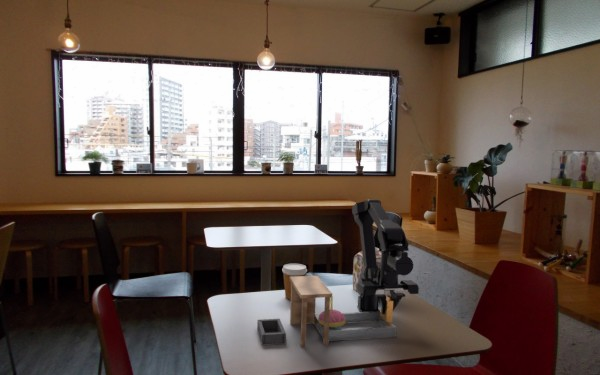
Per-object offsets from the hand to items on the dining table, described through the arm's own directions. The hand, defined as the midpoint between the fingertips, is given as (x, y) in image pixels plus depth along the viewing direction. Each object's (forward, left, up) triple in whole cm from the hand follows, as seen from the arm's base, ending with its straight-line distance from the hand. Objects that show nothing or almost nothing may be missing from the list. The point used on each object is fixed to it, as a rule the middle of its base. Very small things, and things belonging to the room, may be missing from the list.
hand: (386, 313), depth 138 cm
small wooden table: (+26, 0, -5) cm, 26 cm away
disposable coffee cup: (+24, -32, -5) cm, 40 cm away
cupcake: (+18, +1, -5) cm, 19 cm away
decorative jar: (-8, -34, -5) cm, 35 cm away
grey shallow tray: (+11, 0, -5) cm, 12 cm away
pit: (+37, 0, -5) cm, 38 cm away
